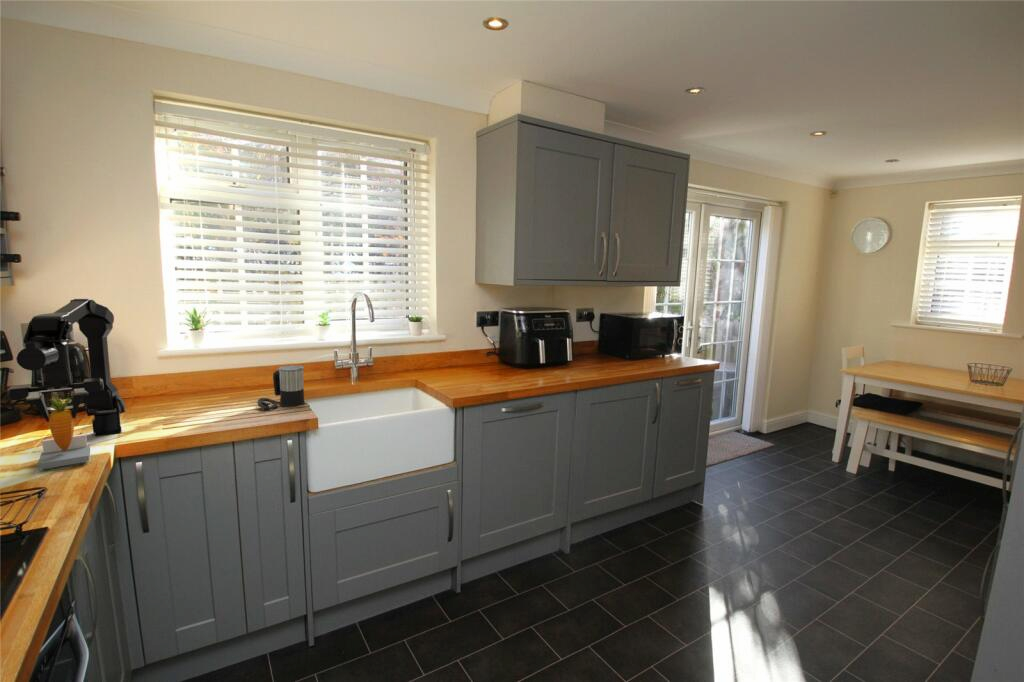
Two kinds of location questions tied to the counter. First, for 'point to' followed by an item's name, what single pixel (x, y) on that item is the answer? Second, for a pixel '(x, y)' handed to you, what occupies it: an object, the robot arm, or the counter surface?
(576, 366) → the counter surface
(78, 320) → the robot arm
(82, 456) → the grey and white block
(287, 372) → the milk frother
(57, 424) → the carrot
